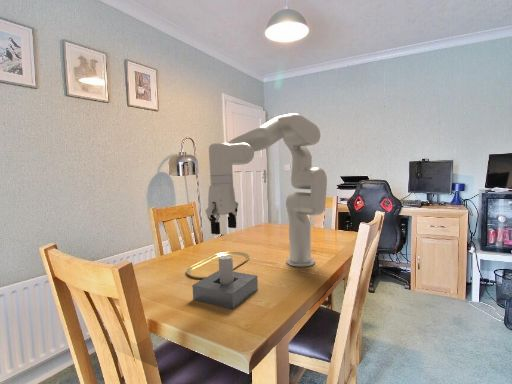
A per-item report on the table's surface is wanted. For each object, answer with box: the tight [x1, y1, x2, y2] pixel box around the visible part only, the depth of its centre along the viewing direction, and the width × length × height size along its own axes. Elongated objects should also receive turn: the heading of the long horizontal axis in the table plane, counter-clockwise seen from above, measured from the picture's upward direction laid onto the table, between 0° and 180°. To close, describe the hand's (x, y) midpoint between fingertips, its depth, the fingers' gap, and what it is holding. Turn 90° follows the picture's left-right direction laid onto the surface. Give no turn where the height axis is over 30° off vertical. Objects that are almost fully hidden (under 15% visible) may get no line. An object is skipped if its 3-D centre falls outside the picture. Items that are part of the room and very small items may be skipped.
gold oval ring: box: [186, 251, 250, 280], centre depth 130 cm, size 19×35×2 cm, turn 153°
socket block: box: [192, 270, 259, 310], centre depth 99 cm, size 16×16×5 cm
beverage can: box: [218, 255, 234, 285], centre depth 99 cm, size 5×5×12 cm
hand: (224, 230), depth 98 cm, fingers open, 9 cm apart
